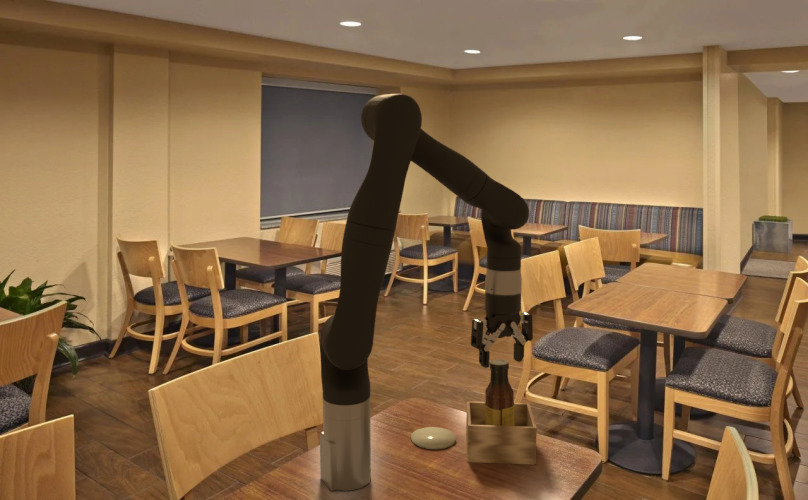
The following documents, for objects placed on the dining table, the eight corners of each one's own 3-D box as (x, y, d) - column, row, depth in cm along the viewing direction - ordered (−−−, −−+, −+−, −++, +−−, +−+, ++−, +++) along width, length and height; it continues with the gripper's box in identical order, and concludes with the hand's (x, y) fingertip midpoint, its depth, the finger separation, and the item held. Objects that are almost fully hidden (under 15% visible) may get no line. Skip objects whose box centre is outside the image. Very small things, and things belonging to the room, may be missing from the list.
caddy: (467, 461, 135) (468, 425, 134) (466, 434, 148) (466, 401, 147) (535, 464, 134) (536, 428, 133) (528, 436, 147) (529, 403, 146)
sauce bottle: (513, 443, 144) (516, 357, 141) (515, 456, 138) (518, 367, 135) (483, 441, 145) (485, 356, 141) (484, 454, 138) (486, 365, 135)
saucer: (424, 453, 139) (424, 450, 139) (403, 434, 148) (403, 432, 148) (464, 443, 144) (464, 441, 143) (441, 426, 152) (441, 424, 152)
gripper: (484, 296, 129) (483, 374, 132) (541, 289, 135) (539, 363, 138) (464, 289, 136) (463, 363, 138) (520, 282, 142) (518, 353, 144)
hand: (501, 363), depth 138 cm, fingers open, 8 cm apart
